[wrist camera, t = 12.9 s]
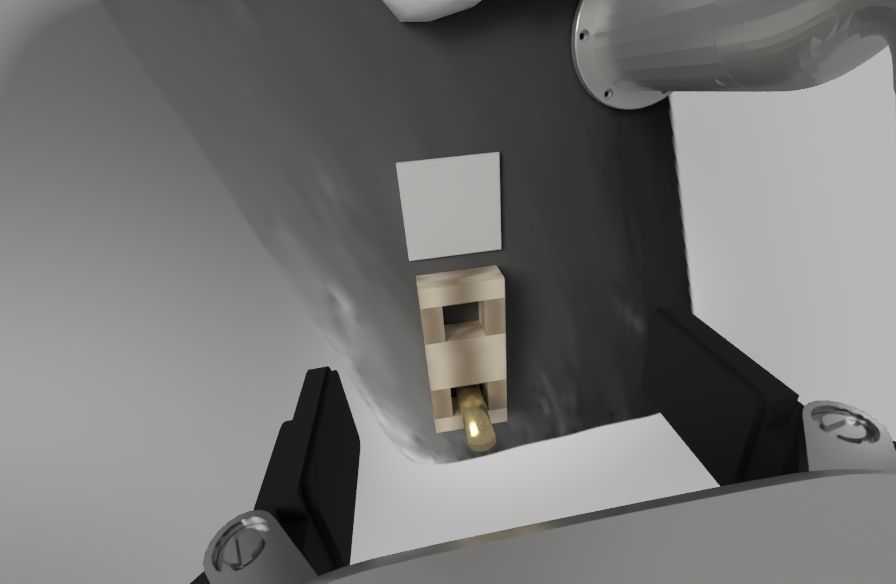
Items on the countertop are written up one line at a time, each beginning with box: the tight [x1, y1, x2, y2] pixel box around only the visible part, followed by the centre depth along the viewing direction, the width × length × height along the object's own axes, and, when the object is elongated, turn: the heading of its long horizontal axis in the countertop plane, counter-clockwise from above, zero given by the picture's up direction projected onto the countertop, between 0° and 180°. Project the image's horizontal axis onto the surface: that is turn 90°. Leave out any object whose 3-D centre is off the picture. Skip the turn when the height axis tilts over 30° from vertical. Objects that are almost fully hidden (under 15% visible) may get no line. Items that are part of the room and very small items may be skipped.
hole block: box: [416, 265, 507, 433], centre depth 47 cm, size 9×20×4 cm, turn 5°
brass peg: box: [455, 384, 496, 451], centre depth 47 cm, size 3×3×10 cm
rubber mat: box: [396, 152, 501, 261], centre depth 41 cm, size 10×10×1 cm
